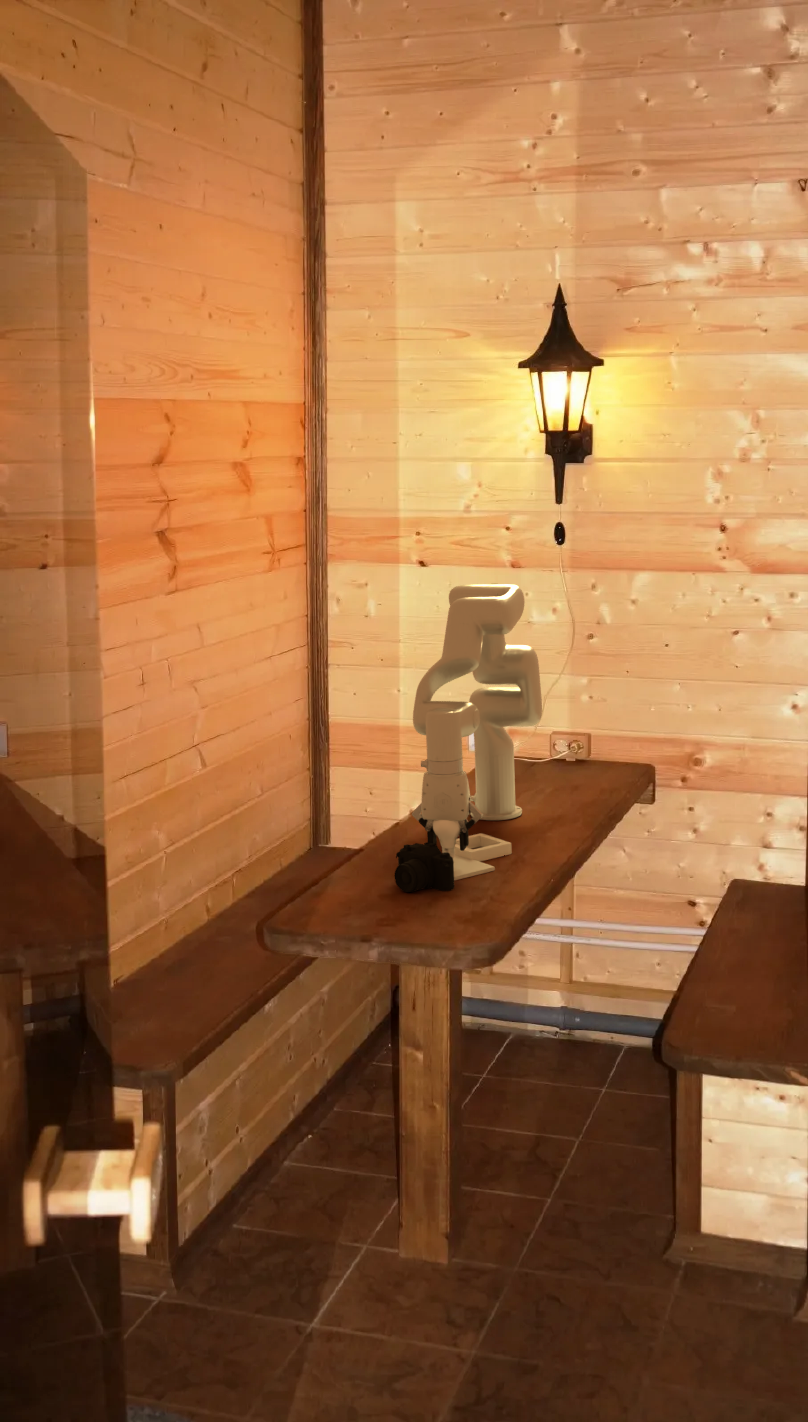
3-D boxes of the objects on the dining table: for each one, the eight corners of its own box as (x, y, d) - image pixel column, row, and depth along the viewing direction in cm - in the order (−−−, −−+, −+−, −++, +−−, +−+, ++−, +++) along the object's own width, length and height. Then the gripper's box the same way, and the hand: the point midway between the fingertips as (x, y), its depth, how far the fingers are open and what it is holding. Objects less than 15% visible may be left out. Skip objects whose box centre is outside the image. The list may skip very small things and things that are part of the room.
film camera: (377, 886, 306) (375, 844, 304) (410, 875, 312) (408, 834, 311) (428, 900, 295) (426, 857, 293) (461, 888, 302) (460, 846, 300)
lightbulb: (464, 863, 311) (462, 813, 309) (434, 865, 311) (432, 815, 309) (462, 855, 318) (460, 806, 316) (433, 856, 318) (431, 807, 316)
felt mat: (403, 869, 317) (403, 865, 317) (456, 856, 324) (455, 853, 324) (441, 883, 305) (441, 879, 305) (494, 870, 313) (494, 866, 313)
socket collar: (442, 852, 328) (441, 842, 327) (481, 843, 334) (481, 833, 333) (471, 863, 319) (471, 852, 318) (511, 853, 325) (511, 842, 324)
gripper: (401, 769, 310) (405, 852, 313) (480, 771, 305) (483, 854, 308) (410, 761, 317) (414, 842, 320) (488, 763, 312) (491, 845, 315)
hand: (448, 847), depth 314 cm, fingers closed on lightbulb, 6 cm apart
